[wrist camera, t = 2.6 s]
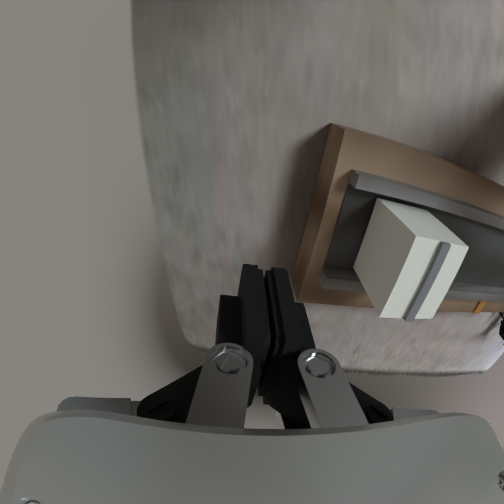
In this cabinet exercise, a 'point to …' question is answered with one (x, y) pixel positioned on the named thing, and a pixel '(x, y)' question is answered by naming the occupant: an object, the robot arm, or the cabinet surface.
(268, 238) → the cabinet surface
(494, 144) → the cabinet surface
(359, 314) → the cabinet surface
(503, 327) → the creature
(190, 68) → the cabinet surface
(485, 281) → the fader console
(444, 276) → the fader tab
